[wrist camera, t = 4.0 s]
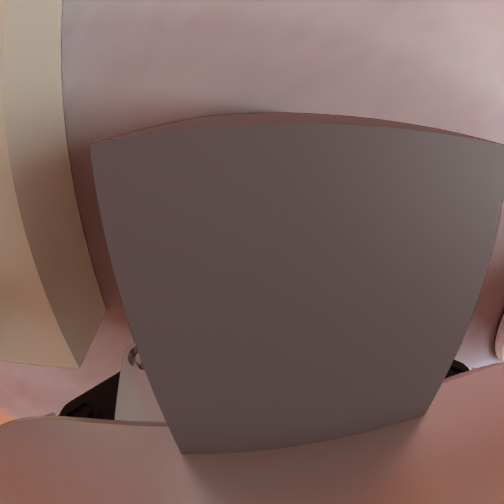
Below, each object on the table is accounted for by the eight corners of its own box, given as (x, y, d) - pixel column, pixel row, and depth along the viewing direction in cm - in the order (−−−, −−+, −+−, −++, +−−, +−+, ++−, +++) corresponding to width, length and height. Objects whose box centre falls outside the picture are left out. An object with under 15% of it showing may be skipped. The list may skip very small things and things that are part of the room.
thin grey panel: (285, 112, 11) (509, 146, 2) (284, 359, 16) (325, 541, 7) (195, 117, 11) (48, 152, 2) (222, 365, 16) (230, 552, 7)
